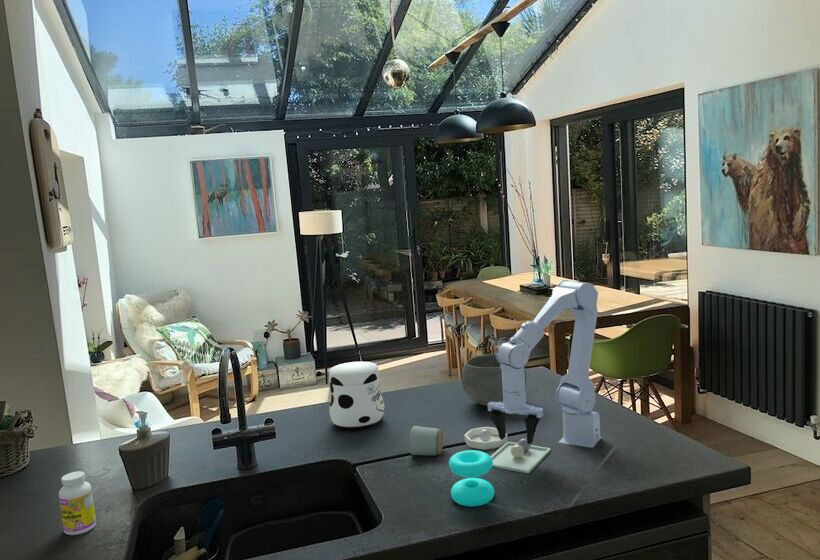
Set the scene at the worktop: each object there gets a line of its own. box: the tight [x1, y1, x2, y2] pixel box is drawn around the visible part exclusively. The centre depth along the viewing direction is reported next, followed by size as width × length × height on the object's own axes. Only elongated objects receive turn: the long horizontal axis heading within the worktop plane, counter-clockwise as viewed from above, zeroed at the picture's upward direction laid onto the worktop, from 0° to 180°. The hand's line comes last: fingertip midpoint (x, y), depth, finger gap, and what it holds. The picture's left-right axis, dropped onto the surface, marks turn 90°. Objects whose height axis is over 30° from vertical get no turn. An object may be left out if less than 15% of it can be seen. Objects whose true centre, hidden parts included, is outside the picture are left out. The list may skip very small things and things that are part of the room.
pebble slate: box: [517, 437, 532, 452], centre depth 170 cm, size 3×3×3 cm
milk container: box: [328, 361, 385, 430], centre depth 202 cm, size 17×17×18 cm
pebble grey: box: [479, 429, 491, 442], centre depth 179 cm, size 3×3×3 cm
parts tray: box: [489, 441, 552, 475], centre depth 166 cm, size 12×15×1 cm
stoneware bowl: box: [463, 426, 509, 450], centre depth 179 cm, size 11×11×2 cm
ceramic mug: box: [408, 425, 444, 456], centre depth 176 cm, size 11×8×8 cm
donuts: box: [448, 449, 495, 507], centre depth 147 cm, size 10×10×10 cm
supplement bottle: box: [58, 470, 97, 536], centre depth 146 cm, size 7×7×13 cm
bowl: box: [461, 353, 527, 407], centre depth 210 cm, size 21×21×15 cm
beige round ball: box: [511, 445, 524, 458], centre depth 166 cm, size 3×3×3 cm
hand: (516, 440), depth 166 cm, fingers open, 7 cm apart
